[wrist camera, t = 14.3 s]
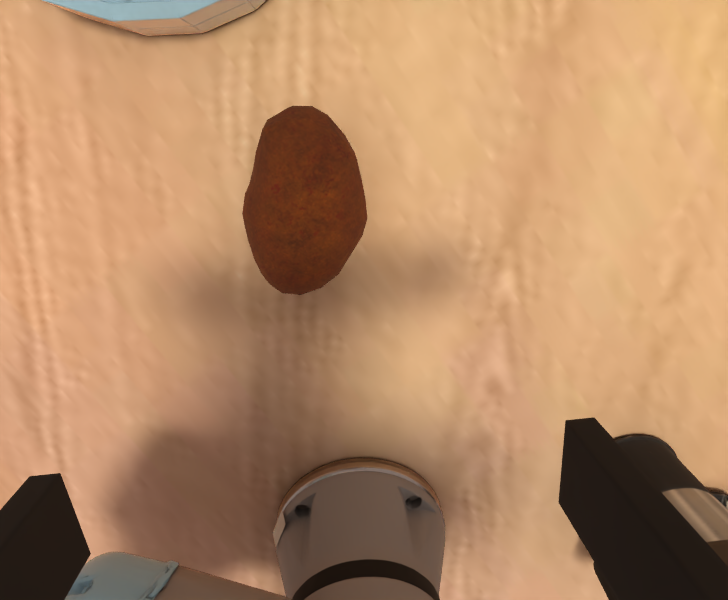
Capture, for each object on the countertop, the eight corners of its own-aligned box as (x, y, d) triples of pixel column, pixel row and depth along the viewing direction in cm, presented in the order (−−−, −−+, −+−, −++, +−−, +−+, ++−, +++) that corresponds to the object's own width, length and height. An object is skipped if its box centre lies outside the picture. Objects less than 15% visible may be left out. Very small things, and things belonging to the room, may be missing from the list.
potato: (368, 110, 31) (378, 107, 23) (360, 277, 35) (366, 320, 27) (250, 103, 30) (221, 99, 23) (256, 274, 34) (233, 317, 27)
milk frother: (581, 435, 41) (704, 597, 27) (756, 420, 42) (965, 571, 28) (566, 553, 46) (663, 738, 33) (722, 538, 47) (883, 715, 33)
